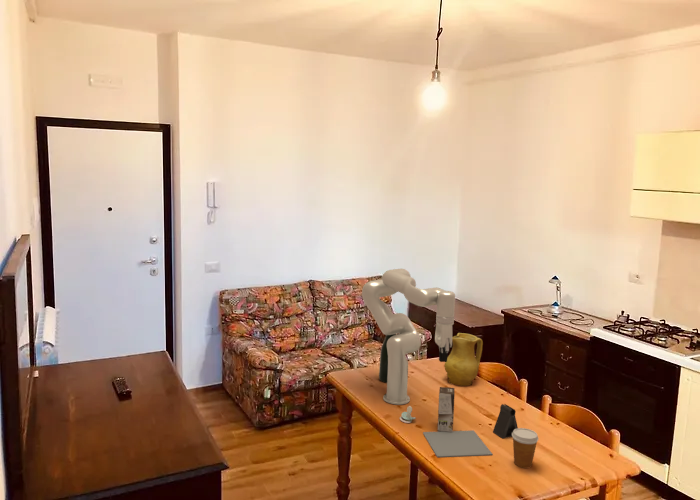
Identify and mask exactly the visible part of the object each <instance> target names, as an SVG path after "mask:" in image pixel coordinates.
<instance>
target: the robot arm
mask: <svg viewBox="0 0 700 500" xmlns="http://www.w3.org/2000/svg"><path fill="white" fill-rule="evenodd" d="M416 286H417V283H416V279H415V278H414V277H411V274H410V272H409V271H408V270H407V269H406V268H396V269H395V268H394V269H389V270H386V271H385V272H383V274H382V276H381V278H380V279H376V280H375V279H373V280H370V281H367V282H366V283H365V284H363V286H362V290H361V297H362V301H363V303H364V305H365V306H366V307H367V309H368V310H369V311H370V313H371V315H372V316H373V319H374V320H375V322H376V324H377V327H378V328H379V330H380V331H381V333H382V334H383V335H385V336H386V335H393V334H396V335H394V336H392V337H390V338H389V339H388V341H387V351H388V377H387V383H386V393H385V394H383V396H382V397H383V398H382V400H383V401H384V402H386V403H388V404H392V405H397V406H398V405H399V406H400V405H406V404H408V403H410V400H411V398H410V396H409V395H408V377H409V362H408V359H407V357H406V355H407V354H410V353H413V352H416V351H418V350H420V348H421V346H422V341H421V338H420V335H419V333H418V331H417V330H416V328H415V326H414V324H413V322H412V321H411V319H410V318H409V316H407V315H406V314H405V313H403V312H402V313H401V312H397V313H393V312H392V311H391V309H390V308H389V306H388V304H386V302H384V301H383V300H382V299H380V298H383V297H390V296H393V295H395V294H396V293H400V294H403V295H404V298H405V299H406V300H407V301H408V302H409V303H411V304H413V305H415V306H417V307H423V308H425V307H431V306H436V313H435V314H436V316H435V317H436V318H435V319H436V320H435V323H436V326H435V334H434V342H435V344H436V345H437V346H438V349H439V352H438V354H439V355H438V362H440V363H445V362H447V358H448V353H449V352H450V348H452V347H453V341H452V337H453V325H454V324H455V323H454V322H455V307H456V306H455V305H456V294H455V293H454V292H453V291H450V290H444V289H443V288H439V287H428V288H423V289H421V288H419V287H416Z"/></svg>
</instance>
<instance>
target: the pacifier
mask: <svg viewBox="0 0 700 500" xmlns="http://www.w3.org/2000/svg"><path fill="white" fill-rule="evenodd" d="M412 412H413V407H412V406H411V405H408V406H407V408H406V411H403V412H402V413H401V416H399V420H400V421H401V422H403V423H405V424H410V423H412V421H413V420H416V419H417V418H416V417H413V416H412Z"/></svg>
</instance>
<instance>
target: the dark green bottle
mask: <svg viewBox="0 0 700 500" xmlns="http://www.w3.org/2000/svg"><path fill="white" fill-rule="evenodd" d="M394 335H397V334H393V335H385V338H384V340H383V342H382V344H381V348H380V355H379V356H380V357H379V369H378V379H379V381H381V382H384V383H386V384H387V377H388V351H387V341H388V339H389V338H390V337H392V336H394Z"/></svg>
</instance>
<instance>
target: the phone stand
mask: <svg viewBox="0 0 700 500" xmlns="http://www.w3.org/2000/svg"><path fill="white" fill-rule="evenodd" d="M499 409H500V411H499V413H498V417H497V419H496V422H495V424H494V427H493V430H492V433H494V434H495V435H496V436H498V437H500V438H501V439H507V438H513V437H512V433H513V431H514V430H515V429H517V428H519V427H518V422H517V418H516V409H514V408H513V407H511V406H510V405H507V404H506V403H501V405H500V407H499Z"/></svg>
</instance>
